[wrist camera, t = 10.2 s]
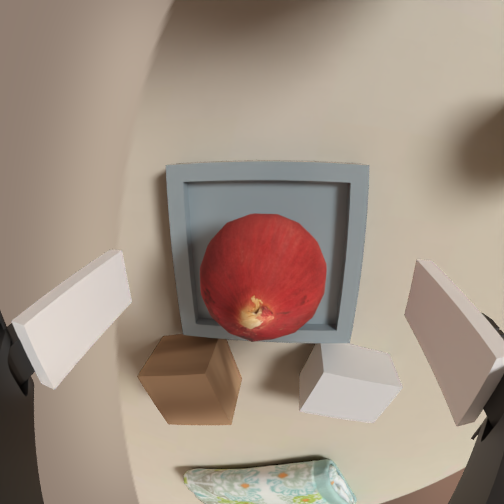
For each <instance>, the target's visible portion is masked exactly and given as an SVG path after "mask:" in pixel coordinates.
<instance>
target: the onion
mask: <svg viewBox="0 0 504 504" xmlns="http://www.w3.org/2000/svg"><path fill="white" fill-rule="evenodd" d="M326 272H327V266H326V262H325V259H324V257H323V254H322V252H321V249H320V247H319V244H318V242H317V241H316V239H315V238H314V237H313V236H312V235H311V234H310V233H309V232H308V231H307V230H306V229H305V228H304V227H303V226H302V225H301V224H300V223H298V222H296V221H293V220H291V219H288V218H286V217H283V216H281V215H279V214H257V213H254V214H249V215H246V216H244V217H241V218H238V219H236V220H233V221H230V222H228V223H226V224H225V225H224V226H223V227H222V229H221V230H220V231H219V232H218V233H217V234H216V235H215V236H214V237H213V238H212V239H211V240H210V242H209V244H208V246H207V248H206V251H205V254H204V257H203V260H202V263H201V266H200V290H201V296H202V298H203V300H204V303H205V305H206V307H207V309H208V311H209V314H210V315H211V317H212V318H213V319H214V320H215V321H216V322H217V323H218V324H219V325H220V326H222V327H223V328H224V329H225V330H226V331H227V332H228V333H230V334H232V335H235V336H238V337H241V338H243V339H246V340H249V341H252V342H253V341H262V340H271V339H276V338H279V337H282V336H286V335H289V334H292V333H295V332H296V331H297V330H298V329H300V328H301V327H302V326H303V325H304V324H305V323H307V322H308V321H309V320H310V319H311V318H312V317H313V316H314V314H315V312H316V310H317V308H318V306H319V303H320V301H321V299H322V297H323V295H324V292H325V283H326Z"/></svg>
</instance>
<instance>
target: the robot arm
mask: <svg viewBox="0 0 504 504" xmlns="http://www.w3.org/2000/svg"><path fill="white" fill-rule="evenodd" d="M131 303H132V298H131V294H130V289H129V284H128V279H127V274H126V269H125V264H124V258H123V252H122V250H108V251H107V252H105V253H104V254H102V255H101V256H99V257H98V258H96V259H95V260H93V261H92V262H90V263H89V264H87V265H86V266H84V267H83V268H81V269H80V270H79V271H78V272H76V273H74V274H73V275H72V276H70V277H69V278H67V279H66V280H64V281H63V282H62V283H60V284H59V285H58V286H56V287H55V288H53V289H52V290H51V291H50V292H48V293H47V294H45V295H44V296H43V297H41V298H40V299H39V300H37V301H36V302H35V303H33V304H32V305H31V306H30V307H28V308H27V309H26V310H24V311H23V312H22V313H21V314H19V315H18V316H17V317H16V318H14V319H13V320H12V323H11V324H10V325H9V326H8V327H7V326H6V324H5V322H4V319H3V317H2V314H1V311H0V504H44V502H43V498H42V492H41V486H40V481H39V474H38V466H37V457H36V447H35V432H34V382H33V380H32V378H31V375H32V374H33V373H34V372H35V373H36V375H37V377H38V378H39V380H40V382H41V384H43V385H45V386H47V387H50V388H52V389H54V390H55V389H56V388H57V386H58V385H59V384H60V383H61V381H62V380H63V379H64V378H65V377H66V376H67V374H68V373H69V372H70V371H71V370H72V368H73V367H74V366H75V365H76V364H77V363H78V361H79V360H80V359H81V358H82V357H83V356H84V355H85V353H86V352H87V351H88V350H89V349H90V348H91V347H92V345H93V344H94V343H95V342H96V341H97V340H98V339H99V338H100V336H101V335H102V334H103V333H104V332H105V331H106V330H107V328H109V326H110V325H111V324H112V323H113V322H114V321H115V320H116V319H117V318H118V317H119V316H120V314H121V313H122V312H123V311H124V310H125V309H126V308H127V307H128V306H129V305H130V304H131ZM404 315H405V317H406V319H407V321H408V323H409V325H410V327H411V328H412V330H413V332H414V334H415V336H416V338H417V340H418V342H419V344H420V346H421V348H422V350H423V352H424V354H425V356H426V358H427V360H428V362H429V364H430V366H431V369H432V371H433V373H434V375H435V377H436V379H437V381H438V384H439V386H440V388H441V390H442V393H443V395H444V397H445V400H446V402H447V404H448V407H449V409H450V412H451V414H452V417H453V419H454V422H455V424H456V426H460V425H464V424H468V423H472V422H475V420H476V419H477V418H478V416H479V415H480V413H481V412H482V410H483V409H484V411H485V413H486V415H487V417H486V419H485V420H484V421H483V423H482V424H481V425H480V427H479V428H478V429H477V431H476V432H475V433H474V435H473V436H472V438H471V439H473V440H474V438H475V437H476V436H477V435H478V434H479V435H478V437H477V440H476V443H475V446H474V448H473V451H472V453H471V456H470V458H469V461H468V463H467V466H466V468H465V470H464V472H463V475H462V477H461V479H460V481H459V483H458V485H457V487H456V489H455V491H454V493H453V495H452V497H451V499H450V501H449V503H448V504H504V333H503V332H502V331H501V330H499V327H498V326H497V325H496V323H495V322H494V321H493V320H492V319H491V318H489V317H488V316H486V315H485V314H483V313H481V312H480V311H479V310H478V309H477V307H476V306H475V305H474V304H473V303H472V302H471V301H470V300H469V298H468V297H467V296H466V295H465V294H464V293H463V292H462V291H461V290H460V289H459V288H458V287H457V286H456V284H455V283H454V282H453V281H452V280H451V279H450V278H449V277H448V276H447V275H446V274H445V273H444V272H443V271H442V270H441V269H440V268H439V267H438V266H437V265H436V264H435V263H434V262H433V261H432V260H421V259H416V264H415V270H414V275H413V280H412V284H411V289H410V293H409V298H408V302H407V306H406V310H405V314H404Z"/></svg>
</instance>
